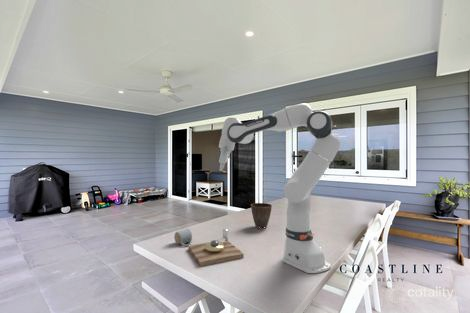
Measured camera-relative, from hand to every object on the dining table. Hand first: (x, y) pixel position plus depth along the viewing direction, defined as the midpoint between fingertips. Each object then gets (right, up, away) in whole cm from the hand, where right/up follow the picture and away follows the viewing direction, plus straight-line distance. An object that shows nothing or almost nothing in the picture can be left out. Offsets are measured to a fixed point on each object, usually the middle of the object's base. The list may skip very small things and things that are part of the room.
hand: (221, 169), depth 129 cm
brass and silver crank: (-1, -40, -10) cm, 41 cm away
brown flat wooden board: (-3, -42, -13) cm, 44 cm away
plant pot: (+27, -43, +33) cm, 61 cm away
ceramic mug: (-21, -43, +1) cm, 48 cm away
